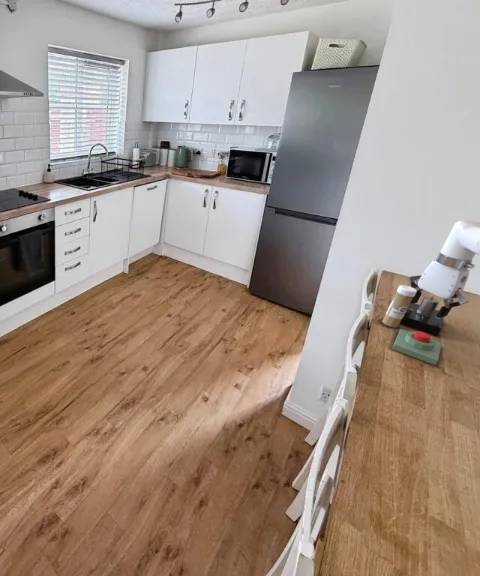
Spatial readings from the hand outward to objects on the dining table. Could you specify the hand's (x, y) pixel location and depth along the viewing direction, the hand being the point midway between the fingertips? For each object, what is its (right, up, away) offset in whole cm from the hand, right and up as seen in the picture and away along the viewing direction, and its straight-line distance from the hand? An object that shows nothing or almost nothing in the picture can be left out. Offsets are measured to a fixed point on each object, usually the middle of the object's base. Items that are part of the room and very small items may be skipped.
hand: (426, 309), depth 121 cm
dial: (0, -1, +1) cm, 2 cm away
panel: (0, -4, +2) cm, 5 cm away
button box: (-14, -11, -12) cm, 21 cm away
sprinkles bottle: (-12, -5, 0) cm, 13 cm away
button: (-13, -8, -13) cm, 20 cm away
